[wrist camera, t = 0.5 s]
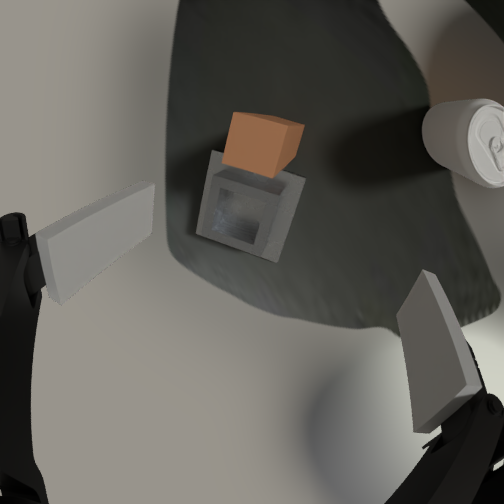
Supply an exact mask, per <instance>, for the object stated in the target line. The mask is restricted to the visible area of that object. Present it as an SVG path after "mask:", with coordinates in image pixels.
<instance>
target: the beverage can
mask: <svg viewBox="0 0 504 504" xmlns="http://www.w3.org/2000/svg"><path fill="white" fill-rule="evenodd" d="M422 137H423V142H424V145H425V147H426V150H427V151H428V153H429V155H430V156H431V157H432V158H433V159H434V160H435V161H436V162H437V163H438V164H440V165H442V166H444V167H446V168H448V169H450V170H452V171H454V172H456V173H458V174H460V175H463V176H464V177H466V178H468V179H470V180H472V181H474V182H476V183H478V184H480V185H482V186H484V187H488V188H498V187H501V186H504V107H503V106H501V105H500V104H499V103H496V102H495V101H492V100H489V99H471V100H461V101H452V102H444V103H439V104H436V105H434V106H433V107H431V108H430V109H429V111H428V112H427V113H426V115H425V117H424V120H423V124H422Z"/></svg>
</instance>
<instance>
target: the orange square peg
mask: <svg viewBox="0 0 504 504" xmlns="http://www.w3.org/2000/svg"><path fill="white" fill-rule="evenodd" d="M304 126H305V125H302V124H299V123H296V122H293V121H289V120H286V119H282V118H279V117H275V116H270V115H262V114H253V113H242V112H234V113H233V117H232V121H231V125H230V129H229V133H228V138H227V142H226V146H225V150H224V155H223V159H222V163H223V164H227V165H230V166H233V167H237V168H240V169H244V170H247V171H250V172H253V173H257V174H260V175H263V176H266V177H269V178H272V179H273V178H274V177H275V176H276V175H277V174H278V173H279V172H280V171H281V170H282V169H283V168H284V167H285V166H286V165H287V164H288V163H289V162H290V161H291V160H292V159H293V158H294V157H295V156H296V153H297V149H298V146H299V143H300V139H301V136H302V133H303V129H304Z"/></svg>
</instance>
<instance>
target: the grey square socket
mask: <svg viewBox="0 0 504 504" xmlns="http://www.w3.org/2000/svg"><path fill="white" fill-rule="evenodd" d="M223 155H224V152H222V151H219V150H215V149H214V150H212V153H211V157H210V162H209V167H208V172H207V176H206V181H205V186H204V191H203V197H202V202H201V207H200V213H199V218H198V224H197V229H196V234H198V235H201V236H204V237H206V238H209V239H212V240H215V241H217V242H220V243H223V244H226V245H228V246H231V247H234V248H237V249H240V250H242V251H245V252H248V253H251V254H253V255H256V256H259V257H262V258H264V259H267V260H270V261H273V262H275V263H278V260H279V257H280V254H281V251H282V248H283V246H284V243H285V240H286V237H287V234H288V231H289V228H290V225H291V222H292V219H293V216H294V213H295V210H296V207H297V204H298V201H299V198H300V195H301V192H302V189H303V186H304V183H305V180H306V177H304V176H301V175H298V174H295V173H292V172H289V171H286V170H283V169H282V170H281V171H280V172H279V173H278V174H277V175H276V176H275V177H274V178H273V179H272V178H269V177H266V176H263V175H260V174H257V173H253V172H250V171H247V170H244V169H240V168H237V167H233V166H230V165H227V164H223V163H222V159H223Z"/></svg>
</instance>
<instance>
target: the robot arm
mask: <svg viewBox="0 0 504 504" xmlns="http://www.w3.org/2000/svg"><path fill="white" fill-rule="evenodd" d="M154 191H155V184H154V183H150V182H146V181H140V182H138V183H136V184H134V185H131V186H129V187H126V188H124V189H122V190H120V191H118V192H115V193H113V194H111V195H109V196H106V197H105V198H102V199H100V200H98V201H96V202H94V203H92V204H90V205H88V206H85V207H84V208H81V209H80V210H78V211H76V212H74V213H72V214H70V215H68V216H66V217H64V218H62V219H60V220H58V221H56V222H55V223H53V224H51V225H49V226H47V227H46V228H44V229H42V230H40V231H38V232H37V233H35V234H33V235H32V236H30V237H29V235H28V229H27V223H26V216H25V215H24V214H23V213H17V212H15V213H10V214H7V215H4V216H2V217H1V218H0V490H1V493H2V496H0V504H49V503H48V498H47V494H46V489H45V484H44V480H43V477H42V475H41V472H40V470H39V469H38V467H37V465H36V463H35V460H34V456H33V446H32V434H31V378H32V363H33V352H34V343H35V336H36V328H37V322H38V316H39V310H40V305H41V299H42V292H41V288H42V287H44V286H45V285H46V287H47V291H48V295H49V297H50V298H51V299H52V300H54V301H55V302H57V303H58V304H60V305H62V304H63V303H65V302H66V301H67V300H68V299H69V298H71V297H72V296H73V295H74V294H75V293H76V292H78V291H79V290H80V289H81V288H83V287H84V286H85V285H86V284H87V283H89V282H90V281H91V280H92V279H94V278H95V277H96V276H97V275H98V274H100V273H101V272H102V271H103V270H105V269H106V268H107V267H108V266H110V265H111V264H112V263H114V262H115V261H116V260H118V259H119V258H120V257H121V256H123V255H124V254H125V253H127V252H128V251H129V250H131V249H132V248H133V247H135V246H136V245H137V244H139V243H140V242H141V241H143V240H144V239H145V238H147V237H148V236H149V235H151V234H152V218H153V203H154ZM396 316H397V321H398V325H399V330H400V335H401V340H402V346H403V351H404V357H405V363H406V369H407V376H408V383H409V390H410V399H411V408H412V417H413V432H416V433H431V432H432V431H433V430H435V429H436V428H437V427H438V426H440V425H441V430H442V433H440V434H439V435H438V436H436V437H435V438H434V439H432V440H431V441H429V442H428V443H427V444H425V445H424V446H423V447H422V448H423V449H425V448H426V447H428V446H429V448H428V449H427V451H426V452H425V454H424V455H423V457H422V458H421V460H420V461H419V462H418V463H417V465H416V466H415V467H414V469H413V470H412V472H411V473H410V474H409V475H408V477H407V478H406V479H405V480H404V482H403V483H402V484H401V485H400V486H399V488H398V489H397V490H396V491H395V492H394V493H393V495H392V496H391V497H390V498H389V499H388V500H387V501H386V503H384V504H504V464H503V465H502V466H501V467H499V468H498V469H496V470H494V471H493V468H494V465H495V464H496V463H498V462H499V461H501V460H502V459H504V407H503V405H502V403H501V401H500V400H499V399H498V397H496V396H495V395H493V394H490V393H489V394H487V391H486V387H485V384H484V381H483V378H482V375H481V372H480V369H479V368H478V364H477V361H476V360H475V355H474V353H473V350H472V348H471V346H470V345H469V344H468V342H467V341H466V339H465V337H464V335H463V333H462V330H461V328H460V325H459V323H458V321H457V318H456V316H455V314H454V312H453V310H452V307H451V305H450V303H449V301H448V299H447V297H446V295H445V293H444V291H443V289H442V287H441V285H440V283H439V281H438V279H437V277H436V275H435V274H433V273H430V272H428V271H425V270H422V271H421V273H420V275H419V277H418V279H417V281H416V283H415V284H414V286H413V288H412V290H411V291H410V293H409V295H408V297H407V298H406V300H405V302H404V303H403V305H402V307H401V308H400V310H399V312H398V313H397V315H396Z"/></svg>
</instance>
